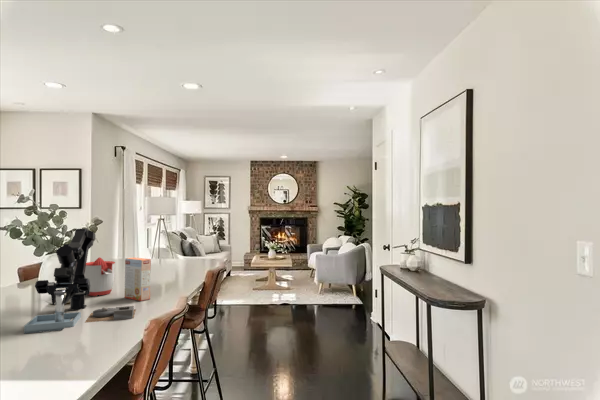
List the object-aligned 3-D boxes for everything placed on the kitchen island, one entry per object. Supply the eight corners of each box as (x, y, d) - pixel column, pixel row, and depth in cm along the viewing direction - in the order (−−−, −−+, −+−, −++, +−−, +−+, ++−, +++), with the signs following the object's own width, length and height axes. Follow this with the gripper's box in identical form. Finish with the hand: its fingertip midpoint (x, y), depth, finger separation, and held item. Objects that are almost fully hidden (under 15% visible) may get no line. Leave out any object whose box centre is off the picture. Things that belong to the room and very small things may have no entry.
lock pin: (60, 321, 151) (61, 289, 151) (67, 322, 150) (68, 289, 150) (51, 324, 147) (51, 291, 148) (58, 325, 146) (58, 291, 146)
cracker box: (150, 299, 194) (151, 258, 194) (140, 301, 189) (141, 260, 189) (134, 295, 201) (135, 256, 202) (123, 298, 196) (124, 258, 197)
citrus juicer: (94, 299, 194) (95, 260, 194) (76, 294, 203) (77, 257, 204) (122, 293, 207) (123, 257, 208) (104, 289, 216) (105, 255, 217)
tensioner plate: (91, 315, 164) (91, 304, 164) (136, 311, 170) (136, 301, 171) (84, 325, 150) (84, 313, 150) (133, 320, 156) (133, 309, 157)
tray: (36, 322, 153) (36, 315, 153) (80, 319, 158) (81, 312, 158) (24, 333, 140) (24, 325, 140) (73, 329, 145) (73, 321, 145)
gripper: (37, 260, 150) (25, 294, 139) (89, 258, 156) (82, 291, 145) (43, 276, 157) (33, 310, 147) (93, 274, 163) (86, 306, 152)
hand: (58, 304), depth 148 cm, fingers open, 4 cm apart
